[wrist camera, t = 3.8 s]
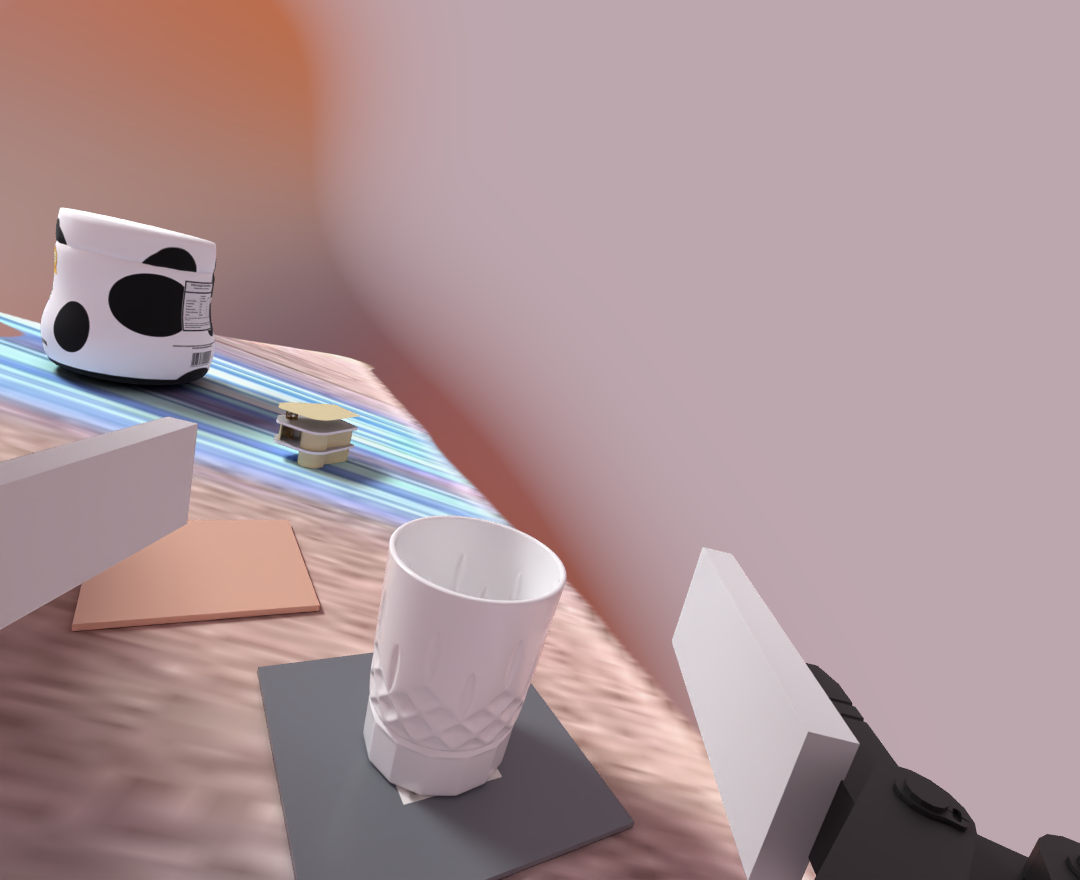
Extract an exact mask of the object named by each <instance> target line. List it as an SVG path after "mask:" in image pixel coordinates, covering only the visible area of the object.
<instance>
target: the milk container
mask: <svg viewBox="0 0 1080 880" xmlns="http://www.w3.org/2000/svg"><path fill="white" fill-rule="evenodd" d="M56 240H57V242H56V245H55V254H54V256H55V258H54V260H55V267H54V268H55V269H54V283H53V289H52V292H51V295H50V298H49V300H48V303H47V305H46V307H45V310H44V313H43V315H42V320H41V337H42V343H43V348H44V351H45V353H46V354H47V356H48V358H49V359H50V360H51V361H52V362H54V363H55V364H56V365H58V366H60V367H63V368H65V369H66V370H68V371H71V372H74V373H78V374H81V375H86V376H89V377H92V378H96V379H101V380H108V381H113V382H119V383H129V384H137V385H172V384H184V383H189V382H192V381H196V380H198V379H200V378H202V377H203V376H204V375H205V374H206V373H207V372H208V370H209V368H210V365H211V362H212V359H213V355H214V349H215V340H214V333H213V328H212V323H211V299H212V292H213V286H214V271H215V266H216V245H215V243H213V242H210V241H207V240H204V239H201V238H197V237H193V236H190V235H186V234H182V233H178V232H174V231H170V230H166V229H162V228H158V227H154V226H149V225H145V224H141V223H136V222H132V221H128V220H123V219H118V218H114V217H109V216H105V215H100V214H95V213H90V212H85V211H79V210H74V209H68V208H60V211H59V214H58V220H57V225H56Z"/></svg>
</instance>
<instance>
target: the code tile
mask: <svg viewBox="0 0 1080 880" xmlns="http://www.w3.org/2000/svg"><path fill="white" fill-rule="evenodd" d="M373 654H374V653H367V654H359V655H351V656H343V657H335V658H328V659H320V660H312V661H304V662H296V663H288V664H280V665H273V666H265V667H258V672H257V673H258V678H259V684H260V689H261V695H262V700H263V706H264V711H265V717H266V722H267V728H268V733H269V739H270V744H271V749H272V755H273V760H274V766H275V771H276V777H277V782H278V788H279V793H280V799H281V804H282V810H283V815H284V821H285V826H286V832H287V837H288V842H289V848H290V853H291V859H292V864H293V870H294V875H295V880H499V879H502V878H504V877H507V876H509V875H512V874H514V873H517V872H519V871H522V870H525V869H527V868H530V867H532V866H535V865H537V864H540V863H542V862H545V861H547V860H550V859H553V858H555V857H558V856H560V855H563V854H565V853H568V852H570V851H573V850H575V849H578V848H580V847H583V846H586V845H588V844H591V843H593V842H596V841H598V840H601V839H603V838H606V837H608V836H611V835H614V834H616V833H619V832H621V831H624V830H626V829H629V828H631V827H633V824H634V821H633V820H632V818H631V817H630V816H629V814H628V813H627V811H626V810H625V809H624V807H623V806H622V805H621V803H620V802H619V801H618V799H617V798H616V797H615V795H614V794H613V793H612V791H611V790H610V789H609V787H608V786H607V785H606V783H605V782H604V781H603V779H602V778H601V777H600V775H599V774H598V773H597V771H596V770H595V769H594V767H593V766H592V764H591V763H590V762H589V760H588V759H587V758H586V756H585V755H584V754H583V752H582V751H581V750H580V748H579V747H578V746H577V744H576V743H575V742H574V740H573V739H572V738H571V736H570V735H569V734H568V732H567V731H566V730H565V728H564V727H563V726H562V724H561V723H560V721H559V720H558V719H557V717H556V716H555V715H554V713H553V712H552V711H551V709H550V708H549V707H548V705H547V704H546V703H545V701H544V700H543V699H542V697H541V696H540V695H539V693H538V692H537V691H536V689H535V688H534V687H533V685H532V684H530V686H529V688H528V691H527V694H526V698H525V701H524V704H523V706H522V709H521V711H520V713H519V715H518V718H517V720H516V722H515V723H514V726H513V729H512V732H511V735H510V738H509V741H508V744H507V748H506V751H505V754H504V757H503V760H502V762H501V764H500V765H499V766H498V767H497V769H496V770H495V771H494V772H493V774H492V775H491V776H490V778H489V779H488V780H487V781H486V783H485V784H483V785H480V786H478V787H476V788H473V789H471V790H468V791H466V792H464V793H461V794H459V795H457V796H426V795H419V794H417V793H414V792H412V791H409V790H407V789H405V788H402V787H400V786H397V785H395V784H393V783H391V782H389V781H388V780H387V779H386V778H385V777H384V775H383V774H382V773H381V772H380V771H379V770H378V769H377V768H376V767H375V766H374V765H373V764H372V763H371V761H370V760H369V758H368V753H367V749H366V744H365V740H364V735H363V730H364V724H365V718H366V712H367V705H368V700H369V694H370V671H371V664H372V659H373Z"/></svg>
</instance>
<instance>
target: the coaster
mask: <svg viewBox="0 0 1080 880" xmlns="http://www.w3.org/2000/svg"><path fill="white" fill-rule="evenodd" d="M319 607H320V604H319V602H318V599H317V596H316V593H315V591H314V588H313V585H312V582H311V580H310V577H309V574H308V572H307V569H306V566H305V563H304V561H303V558H302V555H301V552H300V550H299V547H298V544H297V542H296V539H295V536H294V533H293V531H292V528H291V525H290V523H289V520H187V524H186V525H184V526H182V527H181V528H179V529H177V530H175V531H174V532H172V533H170V534H168V535H166V536H165V537H163V538H161V539H159V540H158V541H156V542H154V543H152V544H151V545H149V546H147V547H145V548H144V549H142V550H140V551H138V552H137V553H135V554H133V555H131V556H130V557H128V558H126V559H124V560H122V561H121V562H119V563H117V564H115V565H114V566H112V567H110V568H108V569H107V570H105V571H103V572H101V573H100V574H98V575H96V576H94V577H93V578H91V579H89V580H87V581H85V582H84V583H82V584H81V589H80V593H79V597H78V602H77V606H76V610H75V615H74V619H73V623H72V631H80V630H93V629H105V628H117V627H129V626H141V625H153V624H165V623H177V622H189V621H201V620H213V619H225V618H237V617H249V616H262V615H274V614H286V613H298V612H310V611H319Z"/></svg>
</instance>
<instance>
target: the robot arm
mask: <svg viewBox="0 0 1080 880" xmlns="http://www.w3.org/2000/svg"><path fill="white" fill-rule="evenodd" d="M197 426H198V424H197V423H193V422H188V421H184V420H180V419H176V418H172V417H164V418H161V419H157V420H153V421H150V422H146V423H142V424H139V425H135V426H131V427H128V428H124V429H120V430H117V431H113V432H109V433H106V434H102V435H98V436H94V437H91V438H87V439H83V440H80V441H76V442H72V443H69V444H65V445H61V446H58V447H54V448H50V449H47V450H43V451H39V452H36V453H32V454H28V455H24V456H21V457H17V458H13V459H10V460H6V461H2V462H0V630H1V629H3V628H4V627H6V626H8V625H10V624H12V623H13V622H15V621H17V620H19V619H20V618H22V617H24V616H26V615H27V614H29V613H31V612H33V611H34V610H36V609H38V608H40V607H41V606H43V605H45V604H47V603H49V602H50V601H52V600H54V599H56V598H57V597H59V596H61V595H63V594H64V593H66V592H68V591H70V590H71V589H73V588H75V587H77V586H78V585H80V584H82V583H84V582H85V581H87V580H89V579H91V578H93V577H94V576H96V575H98V574H100V573H101V572H103V571H105V570H107V569H108V568H110V567H112V566H114V565H115V564H117V563H119V562H121V561H122V560H124V559H126V558H128V557H130V556H131V555H133V554H135V553H137V552H138V551H140V550H142V549H144V548H145V547H147V546H149V545H151V544H152V543H154V542H156V541H158V540H159V539H161V538H163V537H165V536H166V535H168V534H170V533H172V532H174V531H175V530H177V529H179V528H181V527H182V526H184V525H186V524H187V519H188V509H189V500H190V491H191V482H192V473H193V463H194V454H195V445H196V436H197ZM672 643H673V646H674V650H675V653H676V656H677V659H678V662H679V665H680V669H681V672H682V675H683V678H684V681H685V684H686V688H687V691H688V694H689V697H690V700H691V703H692V707H693V709H694V713H695V716H696V719H697V722H698V726H699V729H700V732H701V735H702V738H703V741H704V745H705V748H706V751H707V754H708V757H709V760H710V764H711V767H712V770H713V773H714V776H715V779H716V782H717V786H718V789H719V792H720V795H721V798H722V801H723V805H724V808H725V811H726V814H727V817H728V820H729V824H730V827H731V830H732V833H733V836H734V839H735V842H736V846H737V849H738V852H739V855H740V858H741V861H742V865H743V868H744V871H745V874H746V877H747V880H802V877H803V875H804V873H805V870H806V868H807V866H808V863H809V861H810V862H811V865H812V867H813V869H814V872H815V874H816V878H815V880H1080V843H1078V842H1075V841H1073V840H1070V839H1068V838H1065V837H1063V836H1056V835H1049V834H1046V835H1045V836H1043V837H1041V838H1039V839H1038V841H1037V843H1036V845H1035V847H1034V849H1033V850H1032V852H1031V854H1030V856H1029V858H1028V857H1026V856H1023V855H1021V854H1019V853H1017V852H1015V851H1012V850H1010V849H1008V848H1006V847H1003V846H1002V845H999V844H997V843H995V842H993V841H991V840H988V839H986V838H984V837H982V836H980V835H978V834H977V832H976V827H975V823H974V822H973V820H972V819H971V817H970V816H969V814H968V813H967V811H966V810H965V809H964V807H962V806H961V805H960V804H959V803H958V802H957V801H956V800H955V799H954V798H953V797H952V796H951V795H950V794H949V793H948V792H946V791H945V790H943V789H942V788H940V787H939V786H938V785H936V784H935V783H933V782H932V781H931V780H929V779H927V778H925V777H923V776H921V775H919V774H917V773H915V772H913V771H911V770H908V769H905V768H902V767H899V766H898V765H897V764H896V763H895V761H894V760H893V758H892V757H891V756H890V754H889V753H888V751H887V750H886V749H885V747H884V746H883V745H882V743H881V742H880V740H879V739H878V738H877V736H876V735H875V734H874V732H873V731H872V729H871V728H870V727H869V725H868V724H867V723H866V722H864V721H863V719H864V718H863V717H862V716H861V714H860V713H859V711H858V710H857V709H856V707H854V706H852V702H851V700H850V699H849V698H848V696H847V695H846V694H845V692H844V691H843V689H842V688H841V687H840V685H839V684H838V683H837V682H835V681H834V680H833V679H832V678H831V677H829V675H827V674H826V673H825V672H824V671H823V670H822V669H820V668H819V667H818V666H816V665H812V664H808V663H805V662H804V661H803V659H802V657H801V656H800V655H799V653H798V652H797V650H796V649H795V647H794V646H793V644H792V643H791V641H790V640H789V638H788V637H787V635H786V634H785V632H784V631H783V629H782V628H781V626H780V625H779V623H778V622H777V621H776V619H775V617H774V616H773V614H772V613H771V611H770V610H769V608H768V607H767V606H766V604H765V603H764V601H763V600H762V598H761V597H760V596H759V594H758V592H757V591H756V589H755V588H754V586H753V585H752V583H751V582H750V580H749V579H748V577H747V576H746V574H745V573H744V571H743V570H742V568H741V567H740V565H739V564H738V562H737V561H736V559H735V558H734V557H733V555H732V554H728V553H725V552H721V551H716V550H713V549H709V548H704V547H703V548H702V551H701V554H700V557H699V560H698V563H697V566H696V569H695V572H694V576H693V578H692V582H691V585H690V588H689V591H688V594H687V597H686V600H685V603H684V606H683V609H682V612H681V615H680V618H679V621H678V624H677V627H676V630H675V634H674V636H673V639H672Z"/></svg>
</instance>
